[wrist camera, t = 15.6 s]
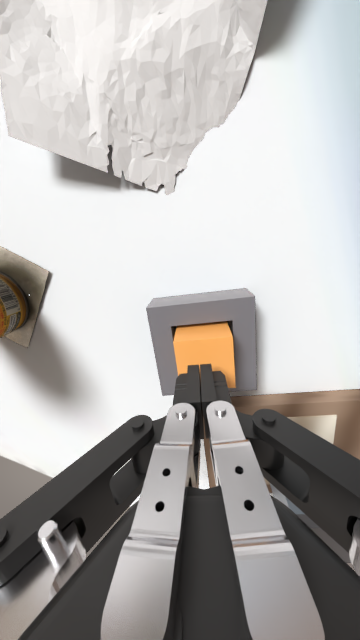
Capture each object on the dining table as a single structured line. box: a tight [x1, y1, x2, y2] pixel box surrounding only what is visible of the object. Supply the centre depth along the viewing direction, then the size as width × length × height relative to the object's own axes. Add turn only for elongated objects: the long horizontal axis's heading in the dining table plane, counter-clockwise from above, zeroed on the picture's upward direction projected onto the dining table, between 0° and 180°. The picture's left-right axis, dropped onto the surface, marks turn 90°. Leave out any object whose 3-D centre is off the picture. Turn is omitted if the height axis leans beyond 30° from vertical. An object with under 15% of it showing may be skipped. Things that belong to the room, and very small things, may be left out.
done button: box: [173, 321, 236, 388], centre depth 17 cm, size 4×4×3 cm
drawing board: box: [203, 389, 360, 493], centre depth 23 cm, size 16×12×2 cm
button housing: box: [146, 288, 257, 396], centre depth 19 cm, size 8×8×3 cm
